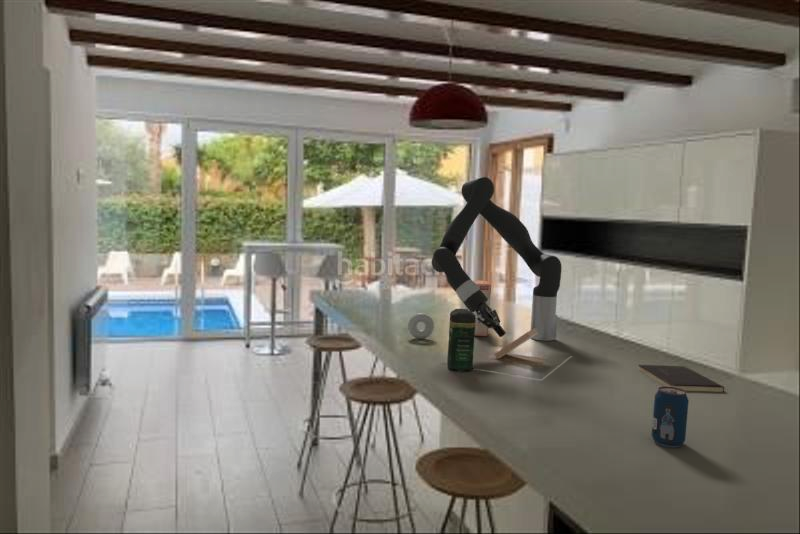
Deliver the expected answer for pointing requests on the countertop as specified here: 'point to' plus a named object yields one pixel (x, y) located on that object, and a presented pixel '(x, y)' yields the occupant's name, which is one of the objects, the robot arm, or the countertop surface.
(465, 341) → the coffee jar
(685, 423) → the soda can
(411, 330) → the donut
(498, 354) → the tile
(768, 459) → the countertop surface
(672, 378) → the hardcover book
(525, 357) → the board
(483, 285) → the cracker box
